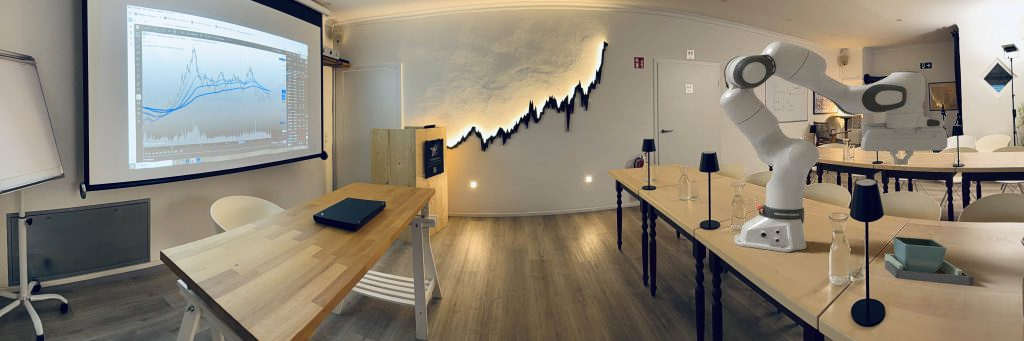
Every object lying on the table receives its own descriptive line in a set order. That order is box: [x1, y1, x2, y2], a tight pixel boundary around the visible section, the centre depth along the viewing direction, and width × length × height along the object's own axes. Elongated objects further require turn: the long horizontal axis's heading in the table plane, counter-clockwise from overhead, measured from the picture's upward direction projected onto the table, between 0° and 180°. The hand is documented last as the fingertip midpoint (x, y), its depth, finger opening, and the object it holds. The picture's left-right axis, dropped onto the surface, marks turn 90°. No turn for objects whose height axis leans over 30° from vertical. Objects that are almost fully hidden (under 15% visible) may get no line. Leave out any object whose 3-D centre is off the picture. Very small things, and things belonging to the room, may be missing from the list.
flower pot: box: [892, 236, 947, 273], centre depth 114 cm, size 9×9×9 cm
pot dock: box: [884, 260, 974, 287], centre depth 111 cm, size 15×8×2 cm, turn 63°
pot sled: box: [884, 252, 962, 276], centre depth 114 cm, size 13×13×6 cm
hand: (900, 164), depth 129 cm, fingers closed
